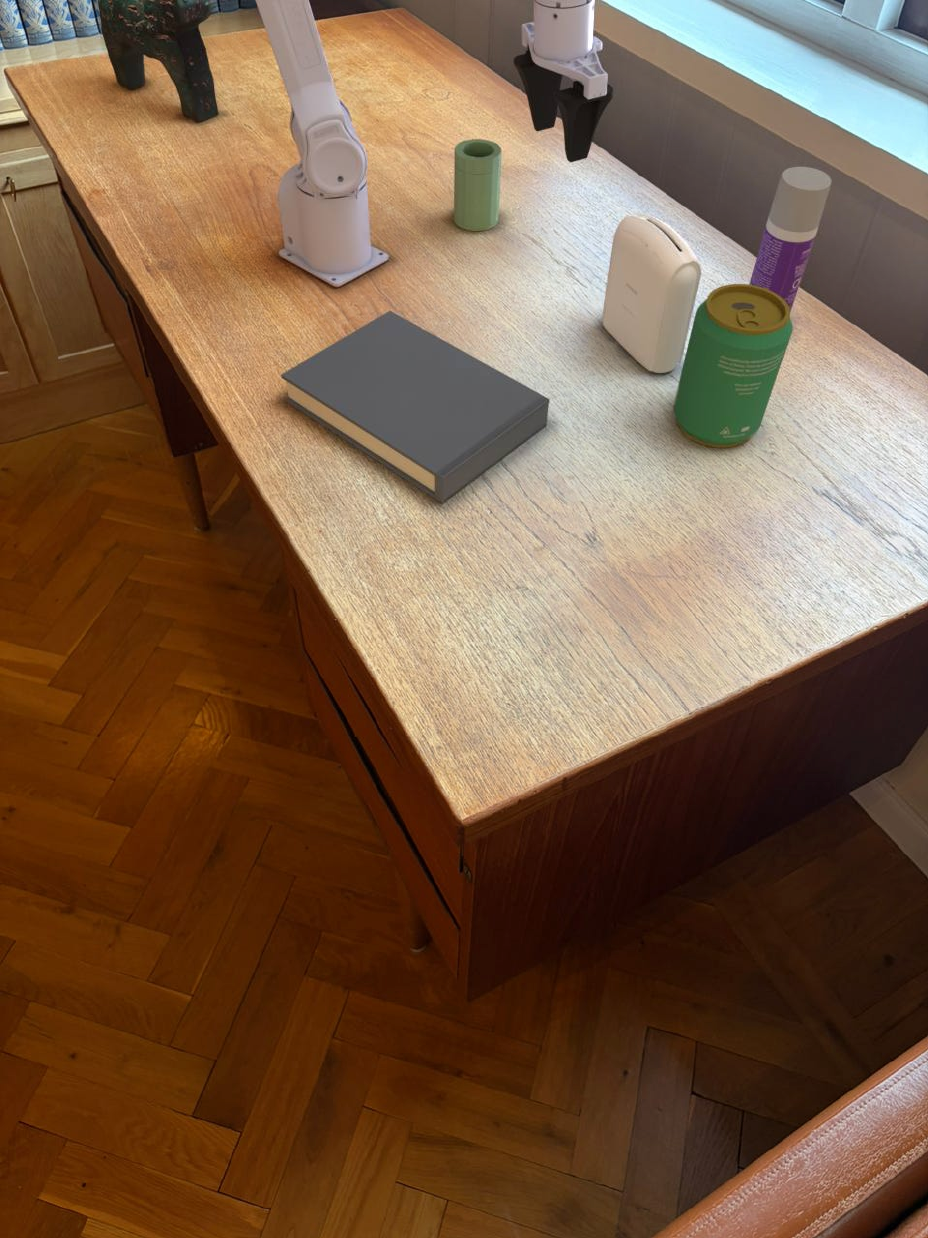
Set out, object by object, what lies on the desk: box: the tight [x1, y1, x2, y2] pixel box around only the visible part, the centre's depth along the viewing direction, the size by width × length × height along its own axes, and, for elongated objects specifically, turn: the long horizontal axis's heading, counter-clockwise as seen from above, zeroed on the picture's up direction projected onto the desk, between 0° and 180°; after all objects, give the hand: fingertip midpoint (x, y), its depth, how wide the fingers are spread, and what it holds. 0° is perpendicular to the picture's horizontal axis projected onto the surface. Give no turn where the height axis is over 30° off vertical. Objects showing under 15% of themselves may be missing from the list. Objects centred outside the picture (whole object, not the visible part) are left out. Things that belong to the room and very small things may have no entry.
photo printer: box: [601, 212, 702, 374], centre depth 89 cm, size 10×4×12 cm, turn 26°
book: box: [280, 310, 551, 505], centre depth 85 cm, size 20×14×3 cm
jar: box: [453, 138, 503, 232], centre depth 105 cm, size 5×5×8 cm
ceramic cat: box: [97, 0, 219, 123], centre depth 118 cm, size 20×6×20 cm, turn 49°
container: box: [748, 166, 832, 313], centre depth 90 cm, size 5×5×15 cm
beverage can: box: [672, 283, 794, 448], centre depth 82 cm, size 8×8×12 cm
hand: (560, 143), depth 99 cm, fingers open, 7 cm apart
